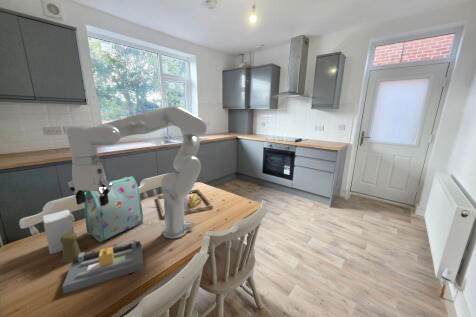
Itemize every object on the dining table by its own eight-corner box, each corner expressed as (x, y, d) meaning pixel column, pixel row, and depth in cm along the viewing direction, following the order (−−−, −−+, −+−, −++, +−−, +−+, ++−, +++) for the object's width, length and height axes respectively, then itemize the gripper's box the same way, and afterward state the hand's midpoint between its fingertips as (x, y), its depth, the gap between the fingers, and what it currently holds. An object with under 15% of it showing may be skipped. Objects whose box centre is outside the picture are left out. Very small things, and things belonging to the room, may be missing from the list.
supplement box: (77, 245, 88) (72, 215, 85) (50, 255, 81) (43, 223, 78) (73, 237, 94) (68, 209, 91) (48, 245, 87) (41, 215, 84)
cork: (79, 251, 84) (75, 228, 82) (83, 257, 80) (79, 234, 78) (61, 258, 80) (56, 234, 77) (64, 265, 76) (59, 241, 74)
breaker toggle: (114, 257, 76) (112, 245, 75) (113, 264, 73) (111, 251, 71) (101, 261, 74) (100, 248, 73) (100, 268, 71) (98, 254, 70)
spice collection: (205, 199, 142) (205, 187, 140) (195, 214, 119) (195, 201, 117) (173, 197, 144) (172, 185, 142) (157, 212, 121) (156, 198, 119)
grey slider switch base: (142, 248, 87) (141, 238, 85) (143, 268, 75) (142, 256, 74) (74, 266, 75) (72, 254, 74) (63, 294, 64) (61, 280, 63)
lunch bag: (129, 215, 115) (125, 172, 110) (146, 223, 107) (142, 177, 102) (84, 234, 96) (76, 183, 90) (100, 245, 88) (92, 190, 82)
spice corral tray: (198, 192, 153) (198, 189, 152) (212, 209, 125) (212, 205, 124) (156, 199, 138) (156, 195, 137) (162, 220, 110) (162, 215, 110)
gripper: (115, 158, 72) (121, 200, 76) (74, 157, 74) (81, 198, 78) (99, 163, 65) (106, 209, 68) (53, 161, 66) (63, 207, 70)
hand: (93, 203), depth 73 cm, fingers open, 9 cm apart
